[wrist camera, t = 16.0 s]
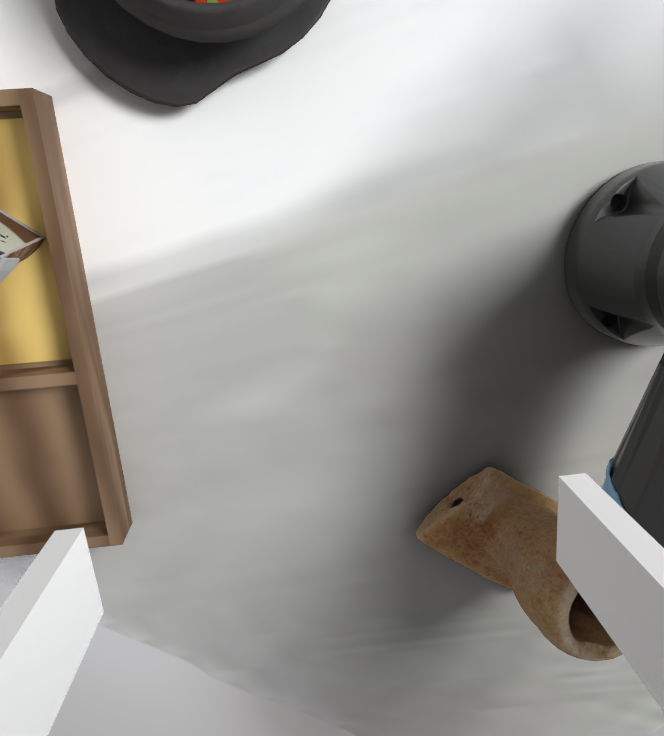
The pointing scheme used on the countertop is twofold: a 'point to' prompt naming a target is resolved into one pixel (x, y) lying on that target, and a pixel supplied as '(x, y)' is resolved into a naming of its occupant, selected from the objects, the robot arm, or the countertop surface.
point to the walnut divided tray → (50, 356)
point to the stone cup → (517, 556)
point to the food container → (15, 243)
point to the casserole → (184, 40)
